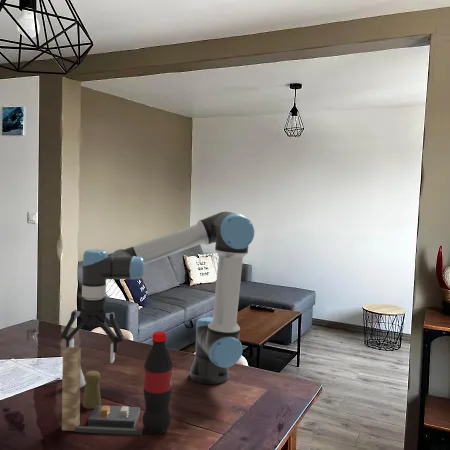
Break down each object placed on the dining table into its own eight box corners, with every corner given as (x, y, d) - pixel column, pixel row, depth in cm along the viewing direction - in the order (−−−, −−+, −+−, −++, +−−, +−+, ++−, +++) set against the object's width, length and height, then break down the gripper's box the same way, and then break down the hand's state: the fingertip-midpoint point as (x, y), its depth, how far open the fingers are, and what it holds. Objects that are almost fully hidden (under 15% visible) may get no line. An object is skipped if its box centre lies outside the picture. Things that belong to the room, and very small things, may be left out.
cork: (94, 398, 162) (94, 367, 161) (105, 404, 158) (105, 372, 157) (78, 404, 157) (79, 372, 156) (89, 410, 153) (90, 377, 152)
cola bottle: (171, 422, 148) (174, 328, 145) (169, 436, 140) (172, 337, 137) (144, 421, 148) (147, 327, 145) (140, 435, 139) (143, 336, 137)
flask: (79, 390, 167) (80, 363, 166) (61, 388, 169) (61, 360, 168) (89, 382, 174) (90, 356, 173) (71, 379, 176) (72, 353, 175)
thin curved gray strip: (142, 432, 141) (142, 429, 141) (142, 435, 140) (142, 431, 140) (75, 429, 141) (76, 425, 141) (74, 431, 140) (74, 428, 140)
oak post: (79, 424, 145) (80, 347, 142) (75, 430, 141) (76, 352, 138) (66, 423, 145) (67, 347, 142) (61, 430, 141) (62, 351, 138)
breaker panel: (139, 414, 152) (140, 402, 152) (134, 429, 143) (134, 416, 143) (96, 412, 152) (96, 400, 152) (87, 427, 143) (88, 414, 143)
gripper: (134, 296, 158) (131, 358, 160) (59, 292, 158) (58, 354, 160) (129, 302, 150) (127, 366, 152) (51, 297, 151) (49, 362, 152)
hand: (91, 360), depth 156 cm, fingers open, 13 cm apart
